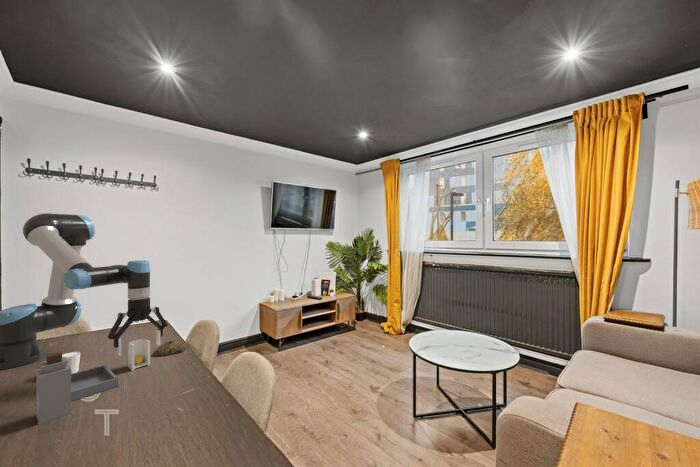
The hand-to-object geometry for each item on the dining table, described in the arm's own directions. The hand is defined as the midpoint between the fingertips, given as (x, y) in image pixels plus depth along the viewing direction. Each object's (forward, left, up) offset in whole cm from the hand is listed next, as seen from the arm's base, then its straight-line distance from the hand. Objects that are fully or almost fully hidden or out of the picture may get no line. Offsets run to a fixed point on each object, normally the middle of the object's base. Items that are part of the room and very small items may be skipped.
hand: (139, 349), depth 121 cm
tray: (+5, -18, -7) cm, 20 cm away
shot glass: (-15, -19, -7) cm, 25 cm away
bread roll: (-8, +15, -7) cm, 18 cm away
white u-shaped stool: (0, 0, -7) cm, 7 cm away
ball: (-1, 0, -4) cm, 4 cm away
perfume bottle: (+19, -27, -7) cm, 34 cm away
